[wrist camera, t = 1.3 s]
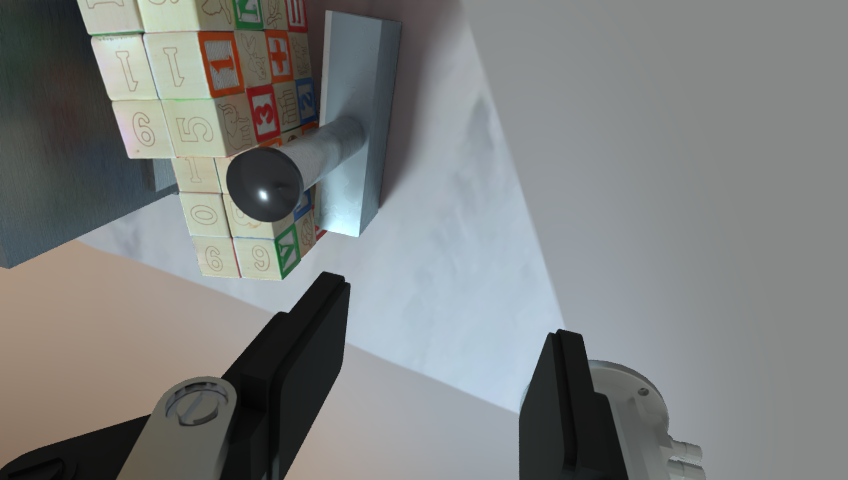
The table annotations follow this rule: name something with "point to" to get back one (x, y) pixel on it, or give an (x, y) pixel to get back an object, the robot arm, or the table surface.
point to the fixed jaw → (61, 135)
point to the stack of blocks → (213, 111)
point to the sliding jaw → (331, 135)
